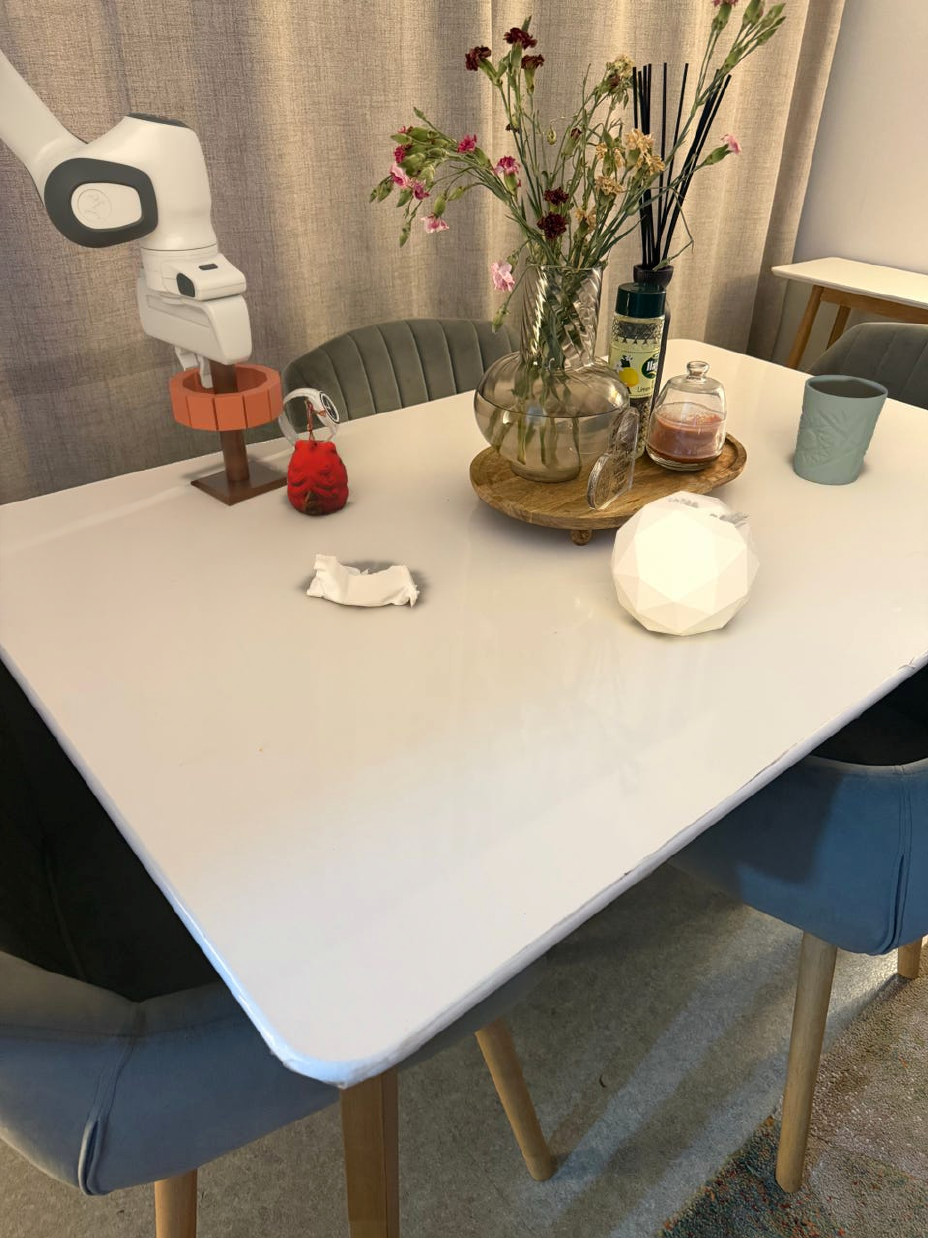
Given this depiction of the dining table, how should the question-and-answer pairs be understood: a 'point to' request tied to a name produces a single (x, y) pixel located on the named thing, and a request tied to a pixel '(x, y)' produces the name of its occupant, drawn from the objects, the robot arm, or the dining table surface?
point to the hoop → (227, 400)
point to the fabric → (362, 584)
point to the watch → (319, 403)
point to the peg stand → (236, 455)
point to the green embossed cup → (836, 427)
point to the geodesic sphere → (684, 564)
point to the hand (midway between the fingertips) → (201, 383)
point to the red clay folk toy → (316, 474)
